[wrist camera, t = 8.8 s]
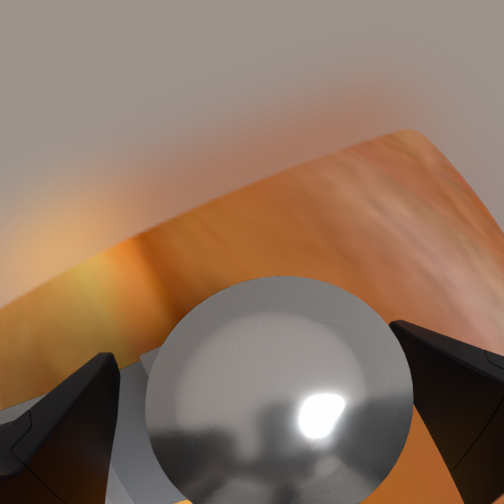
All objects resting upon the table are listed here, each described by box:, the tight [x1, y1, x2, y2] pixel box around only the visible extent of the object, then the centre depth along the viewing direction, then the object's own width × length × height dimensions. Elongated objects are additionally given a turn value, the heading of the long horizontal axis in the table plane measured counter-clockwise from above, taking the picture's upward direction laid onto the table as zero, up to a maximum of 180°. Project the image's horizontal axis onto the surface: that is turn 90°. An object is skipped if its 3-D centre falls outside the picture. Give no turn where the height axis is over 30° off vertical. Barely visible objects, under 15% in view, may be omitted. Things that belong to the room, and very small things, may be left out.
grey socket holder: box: [0, 346, 187, 504], centre depth 13 cm, size 22×9×4 cm, turn 118°
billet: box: [145, 276, 413, 504], centre depth 10 cm, size 5×5×12 cm
